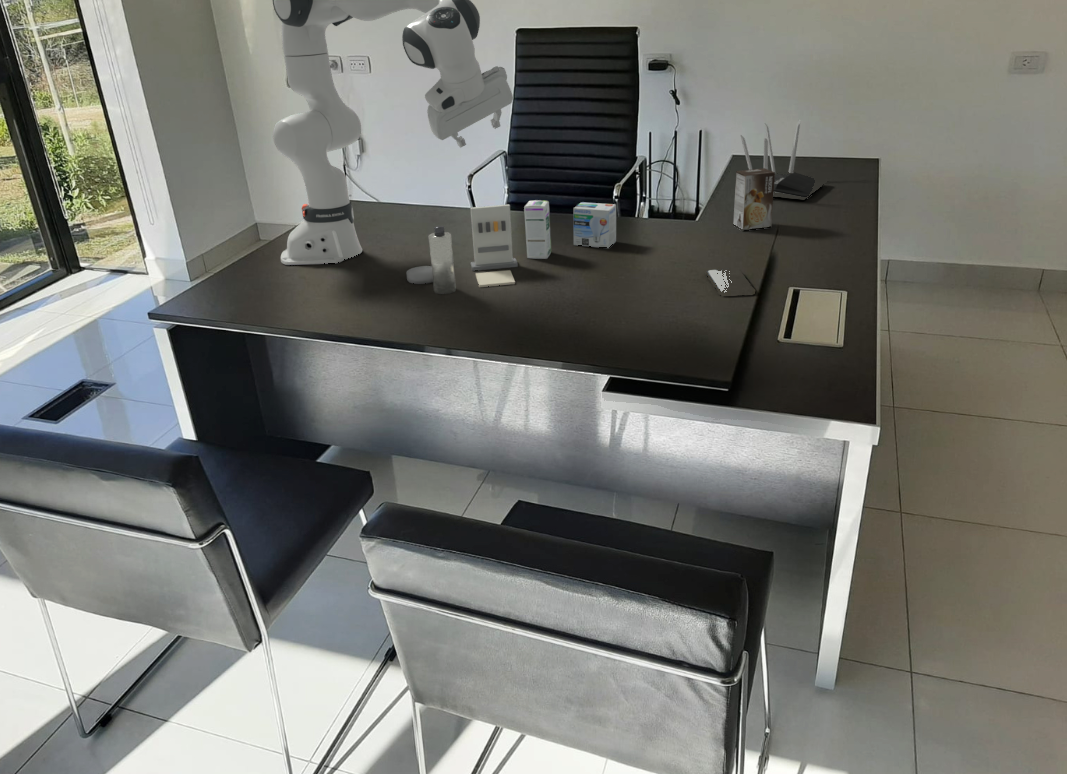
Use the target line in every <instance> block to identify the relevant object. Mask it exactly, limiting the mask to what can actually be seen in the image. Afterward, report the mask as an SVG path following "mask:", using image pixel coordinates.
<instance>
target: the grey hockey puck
mask: <svg viewBox="0 0 1067 774" xmlns="http://www.w3.org/2000/svg"><path fill="white" fill-rule="evenodd" d="M405 272H406V279H407V282H408V283H410V284H413V283H414V284H415V285H425V283H426V284H430V283H433V275H432V265H430V266H429V265H422V266H416V267H411V268H409V269H408V270H406V271H405Z"/></svg>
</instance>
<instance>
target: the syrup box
mask: <svg viewBox="0 0 1067 774" xmlns="http://www.w3.org/2000/svg"><path fill="white" fill-rule="evenodd" d="M523 208H524V209H523V211H524V213H523V214H524V225H525V227H524V228H525V242H526V257H527V259H534V260H535V259H537V260H542V259H545V260H547V259H548V258H549V257H550V255H551V253H552V237H551V236H552V235H551V216H550V215H551V214H550V202H549V200H541V199H539V200H538V199H535V200H529V201H528V202H527V203H526V204H525V205H524V207H523Z"/></svg>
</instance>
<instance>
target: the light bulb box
mask: <svg viewBox="0 0 1067 774" xmlns="http://www.w3.org/2000/svg"><path fill="white" fill-rule="evenodd" d="M616 242H617V204H616V203H614V204H613V203H599V202H598V203H596V202H584V201H582V202H580V203H577V204H576V206H575V207H573V246H578V245H582V246H581V247H589V246H591V247H592V248H599V247H607V248H606V249H610V248H611V247H612V246H613V245H614V244H615V243H616ZM612 244H613V245H612ZM611 245H612V246H611ZM610 246H611V247H610ZM609 247H610V248H609Z"/></svg>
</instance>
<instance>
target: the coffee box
mask: <svg viewBox="0 0 1067 774" xmlns="http://www.w3.org/2000/svg"><path fill="white" fill-rule="evenodd" d="M735 172H736V173H735V189H734V190H735V191H734V192H735V193H734V206H733V207H734V208H733V210H734V211H733V224H734V225H736V226H738V227H739V228H741V229H752V228H762V227H769V226H771V227H772V219H773V207H774V198H773V195H774V181H775V172H776V171H775V172H773V171H772V170H771V169H769V168H768V169H765V168H756V169H755V168H752V170H749V169H746V170H743V169H742V170H737V171H735Z"/></svg>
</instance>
